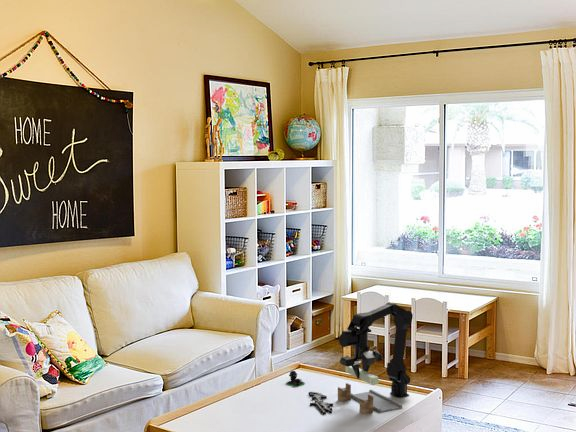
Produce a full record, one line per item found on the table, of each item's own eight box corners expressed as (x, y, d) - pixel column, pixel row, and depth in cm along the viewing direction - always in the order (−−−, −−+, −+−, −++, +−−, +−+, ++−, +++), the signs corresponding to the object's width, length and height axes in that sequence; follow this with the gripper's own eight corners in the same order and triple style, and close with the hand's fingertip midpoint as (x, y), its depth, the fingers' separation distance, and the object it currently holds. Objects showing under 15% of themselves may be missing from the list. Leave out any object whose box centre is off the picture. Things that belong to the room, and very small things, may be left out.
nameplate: (300, 392, 331) (321, 390, 334) (300, 395, 331) (321, 393, 334) (318, 412, 305) (340, 410, 307) (318, 416, 305) (340, 414, 307)
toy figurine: (290, 388, 342) (290, 376, 341) (281, 382, 351) (281, 370, 350) (309, 385, 346) (309, 373, 345) (300, 379, 355) (300, 368, 354)
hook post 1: (347, 398, 326) (347, 383, 326) (350, 400, 324) (350, 384, 323) (337, 399, 324) (337, 384, 324) (341, 401, 321) (341, 386, 321)
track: (371, 392, 334) (371, 389, 334) (402, 408, 313) (402, 404, 313) (349, 396, 329) (349, 393, 328) (379, 412, 307) (379, 409, 307)
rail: (345, 371, 326) (345, 365, 325) (351, 370, 327) (350, 364, 327) (372, 385, 306) (372, 378, 306) (378, 383, 307) (378, 377, 307)
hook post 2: (369, 410, 310) (369, 394, 310) (373, 412, 308) (373, 396, 307) (359, 412, 308) (359, 396, 308) (363, 414, 305) (363, 398, 305)
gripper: (352, 350, 304) (353, 386, 305) (389, 344, 312) (389, 379, 314) (339, 344, 314) (339, 379, 315) (374, 338, 322) (375, 372, 324)
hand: (361, 378), depth 317 cm, fingers closed on rail, 3 cm apart
